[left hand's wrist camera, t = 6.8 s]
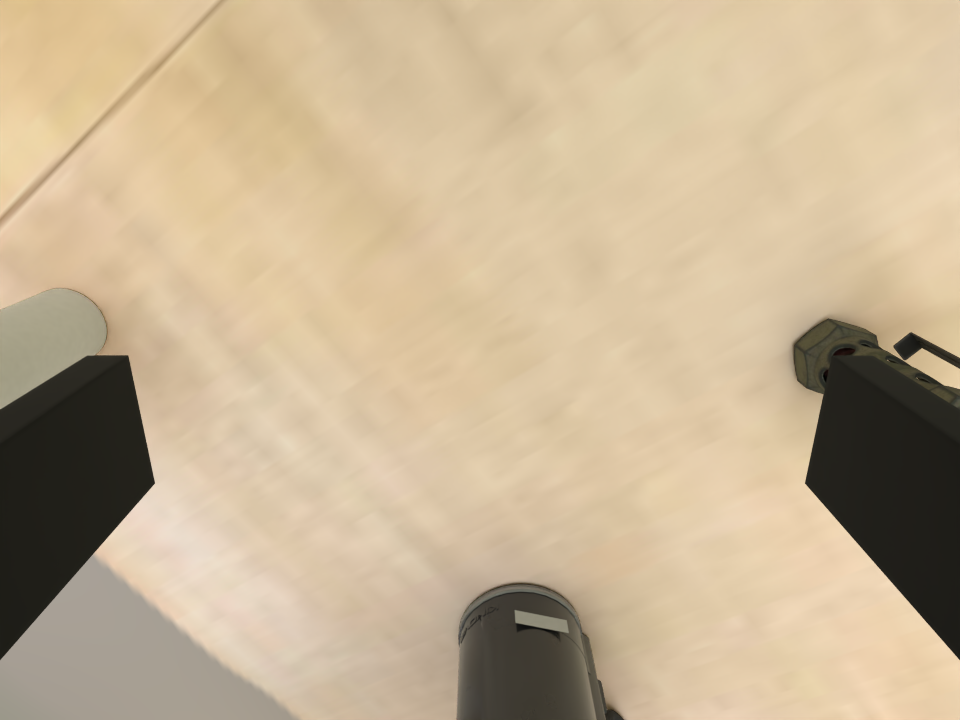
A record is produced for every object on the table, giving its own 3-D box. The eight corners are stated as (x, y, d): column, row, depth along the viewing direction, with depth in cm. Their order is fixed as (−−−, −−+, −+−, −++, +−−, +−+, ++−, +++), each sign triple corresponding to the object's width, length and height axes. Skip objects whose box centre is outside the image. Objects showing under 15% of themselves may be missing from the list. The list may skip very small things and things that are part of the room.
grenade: (815, 423, 43) (976, 571, 29) (765, 365, 42) (909, 492, 28) (933, 336, 41) (1168, 452, 27) (884, 271, 40) (1105, 358, 26)
